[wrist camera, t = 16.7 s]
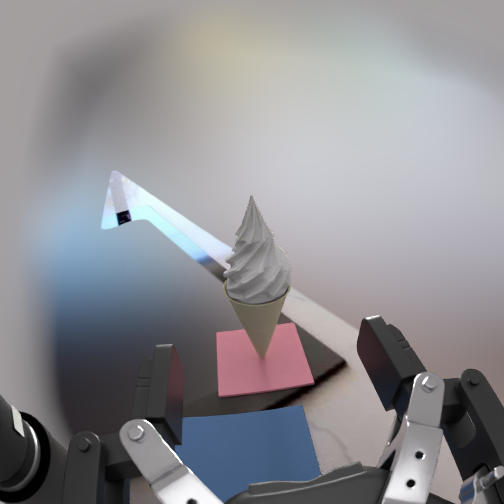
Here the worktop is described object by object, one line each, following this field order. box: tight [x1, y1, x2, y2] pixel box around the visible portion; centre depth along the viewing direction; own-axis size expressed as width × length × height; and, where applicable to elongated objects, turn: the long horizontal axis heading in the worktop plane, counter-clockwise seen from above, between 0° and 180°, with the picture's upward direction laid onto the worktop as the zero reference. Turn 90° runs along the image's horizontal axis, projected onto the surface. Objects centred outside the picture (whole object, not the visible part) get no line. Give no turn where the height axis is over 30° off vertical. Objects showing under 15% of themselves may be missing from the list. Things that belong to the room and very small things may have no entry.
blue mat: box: [175, 405, 321, 503], centre depth 17 cm, size 10×9×1 cm
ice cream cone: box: [223, 195, 291, 359], centre depth 22 cm, size 5×5×15 cm
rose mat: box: [216, 323, 314, 398], centre depth 26 cm, size 8×8×1 cm
